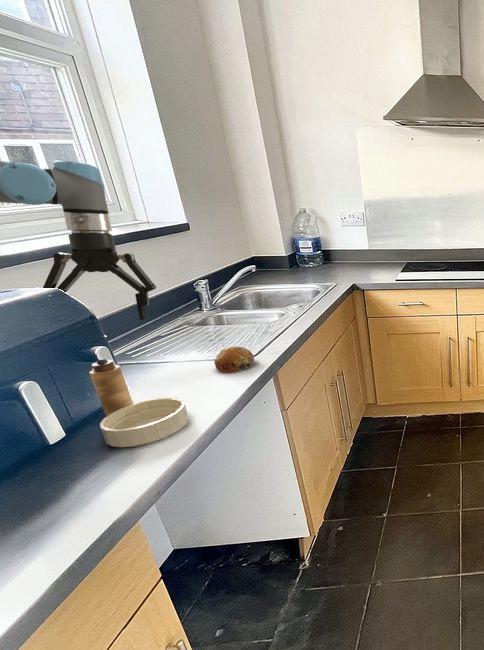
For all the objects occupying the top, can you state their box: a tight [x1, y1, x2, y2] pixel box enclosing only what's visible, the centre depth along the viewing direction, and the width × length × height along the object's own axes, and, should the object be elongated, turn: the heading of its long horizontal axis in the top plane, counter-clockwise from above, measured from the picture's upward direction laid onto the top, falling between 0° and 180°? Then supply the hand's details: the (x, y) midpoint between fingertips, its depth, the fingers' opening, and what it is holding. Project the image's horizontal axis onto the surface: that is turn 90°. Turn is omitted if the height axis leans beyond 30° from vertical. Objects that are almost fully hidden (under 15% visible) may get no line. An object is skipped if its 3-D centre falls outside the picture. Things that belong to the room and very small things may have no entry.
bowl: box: [99, 397, 190, 448], centre depth 92 cm, size 14×14×4 cm
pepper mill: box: [88, 358, 134, 417], centre depth 97 cm, size 5×5×14 cm
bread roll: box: [213, 345, 255, 374], centre depth 125 cm, size 10×10×8 cm
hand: (108, 320), depth 103 cm, fingers open, 13 cm apart
